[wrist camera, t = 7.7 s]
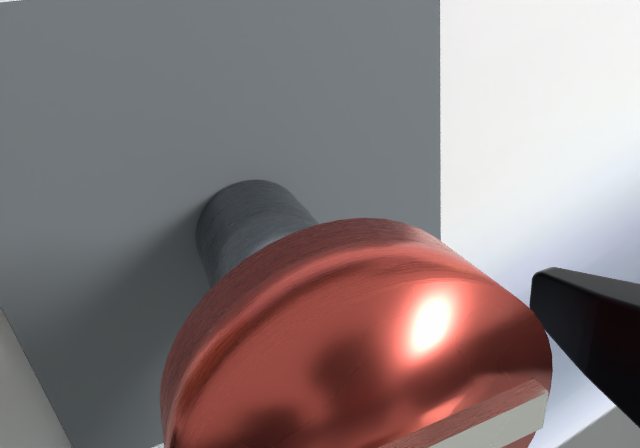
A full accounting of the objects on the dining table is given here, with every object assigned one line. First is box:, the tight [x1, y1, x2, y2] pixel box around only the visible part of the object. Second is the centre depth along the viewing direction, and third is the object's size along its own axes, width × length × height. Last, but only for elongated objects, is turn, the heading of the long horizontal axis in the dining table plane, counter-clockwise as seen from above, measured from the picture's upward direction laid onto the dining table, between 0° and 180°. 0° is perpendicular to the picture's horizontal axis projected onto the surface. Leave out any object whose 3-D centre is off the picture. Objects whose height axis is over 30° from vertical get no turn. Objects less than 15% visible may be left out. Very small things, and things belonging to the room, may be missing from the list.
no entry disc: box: [159, 180, 552, 448], centre depth 10 cm, size 6×6×8 cm
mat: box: [0, 0, 441, 448], centre depth 14 cm, size 13×13×1 cm
